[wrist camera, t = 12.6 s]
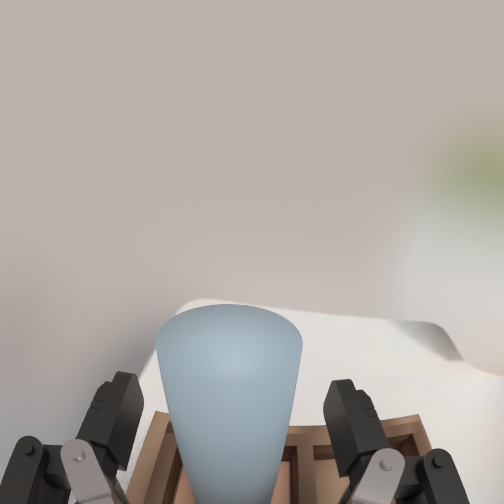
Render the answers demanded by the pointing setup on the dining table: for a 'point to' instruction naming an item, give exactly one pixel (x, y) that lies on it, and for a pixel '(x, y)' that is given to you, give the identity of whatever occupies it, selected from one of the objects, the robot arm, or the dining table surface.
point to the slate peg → (230, 397)
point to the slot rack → (290, 472)
